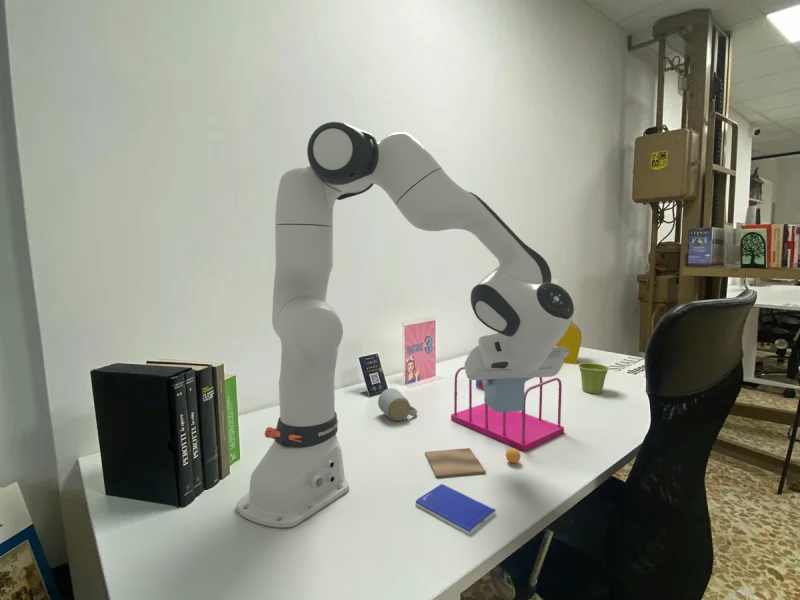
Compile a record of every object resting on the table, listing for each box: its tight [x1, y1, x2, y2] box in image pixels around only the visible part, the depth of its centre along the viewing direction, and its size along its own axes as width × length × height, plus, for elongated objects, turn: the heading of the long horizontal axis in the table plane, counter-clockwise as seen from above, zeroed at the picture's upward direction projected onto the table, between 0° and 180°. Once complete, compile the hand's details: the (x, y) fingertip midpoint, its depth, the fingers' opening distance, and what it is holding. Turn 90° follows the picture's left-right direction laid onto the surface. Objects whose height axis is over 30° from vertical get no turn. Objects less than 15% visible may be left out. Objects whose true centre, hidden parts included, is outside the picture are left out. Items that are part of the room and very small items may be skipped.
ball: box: [505, 447, 521, 464], centre depth 96 cm, size 3×3×3 cm
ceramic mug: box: [377, 387, 418, 422], centre depth 123 cm, size 11×8×8 cm
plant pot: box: [578, 362, 610, 395], centre depth 144 cm, size 9×9×9 cm
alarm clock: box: [554, 320, 582, 365], centre depth 184 cm, size 15×8×18 cm, turn 66°
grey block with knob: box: [483, 378, 526, 412], centre depth 94 cm, size 6×6×10 cm
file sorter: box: [450, 366, 565, 452], centre depth 115 cm, size 17×25×16 cm
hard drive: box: [415, 483, 496, 536], centre depth 79 cm, size 2×8×12 cm
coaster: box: [424, 447, 487, 479], centre depth 96 cm, size 11×11×1 cm
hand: (502, 382), depth 94 cm, fingers closed on grey block with knob, 6 cm apart
